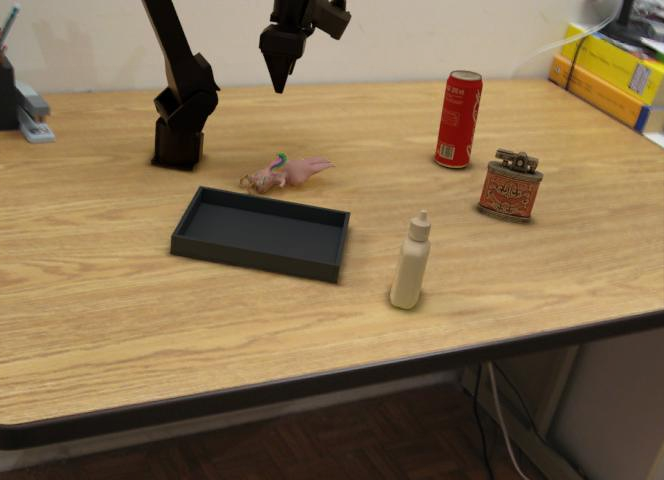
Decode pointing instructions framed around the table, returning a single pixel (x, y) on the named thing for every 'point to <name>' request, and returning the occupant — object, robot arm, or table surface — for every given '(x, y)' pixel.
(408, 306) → the eye dropper bottle
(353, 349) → the table surface
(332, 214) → the desk tray
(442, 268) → the table surface
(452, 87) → the beverage can
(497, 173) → the lighter
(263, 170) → the rabbit figure
